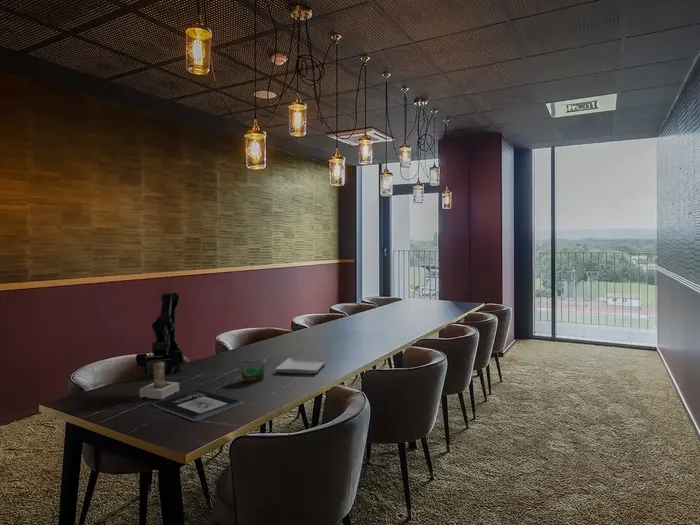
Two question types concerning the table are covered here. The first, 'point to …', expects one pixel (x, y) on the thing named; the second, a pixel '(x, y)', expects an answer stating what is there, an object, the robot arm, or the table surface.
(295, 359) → the salad plate
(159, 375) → the beige cylinder
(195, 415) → the sketchbook
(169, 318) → the robot arm
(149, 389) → the holder block
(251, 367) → the food container
